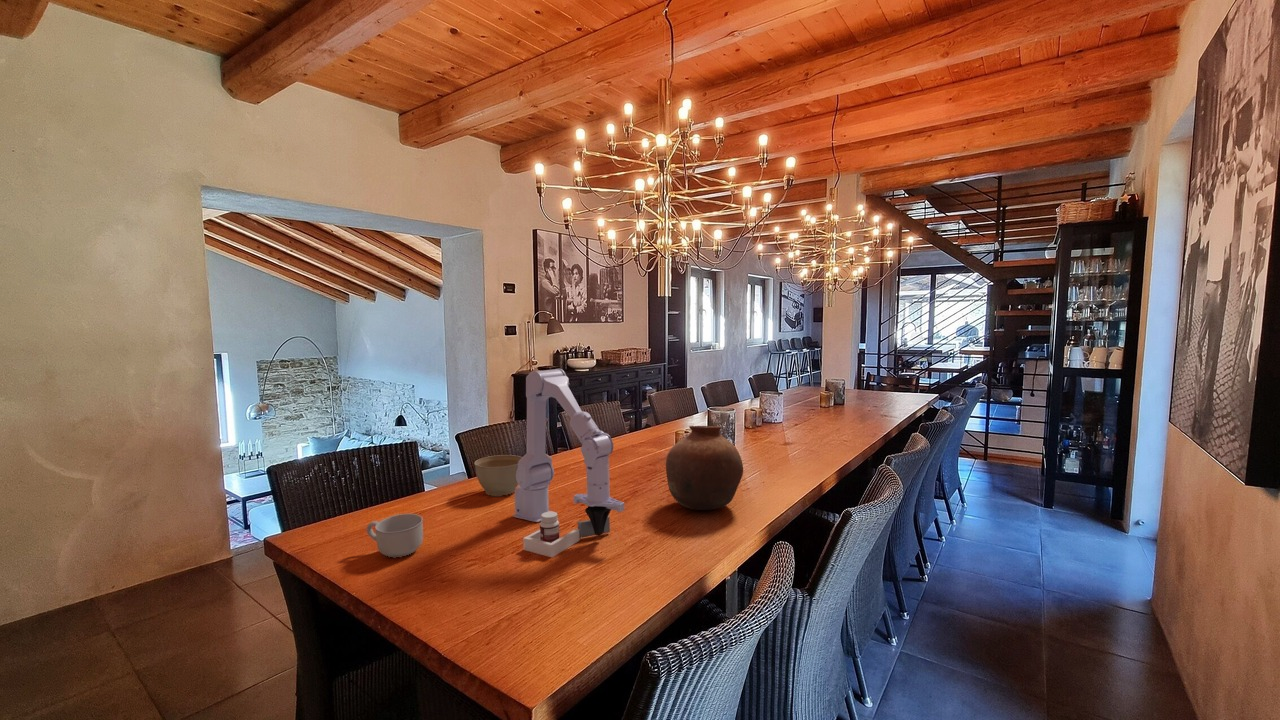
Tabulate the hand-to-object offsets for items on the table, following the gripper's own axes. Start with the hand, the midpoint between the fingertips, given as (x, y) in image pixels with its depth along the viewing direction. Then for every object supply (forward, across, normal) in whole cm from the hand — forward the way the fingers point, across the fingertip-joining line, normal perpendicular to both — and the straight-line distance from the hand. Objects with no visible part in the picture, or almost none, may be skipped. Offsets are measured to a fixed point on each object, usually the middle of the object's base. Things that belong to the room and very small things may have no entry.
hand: (599, 534), depth 135 cm
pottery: (+2, +14, +36) cm, 38 cm away
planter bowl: (+2, -51, +17) cm, 54 cm away
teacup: (+2, -41, -29) cm, 51 cm away
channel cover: (+2, -3, +2) cm, 4 cm away
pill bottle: (+2, -9, -9) cm, 13 cm away
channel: (+2, -9, -7) cm, 12 cm away
